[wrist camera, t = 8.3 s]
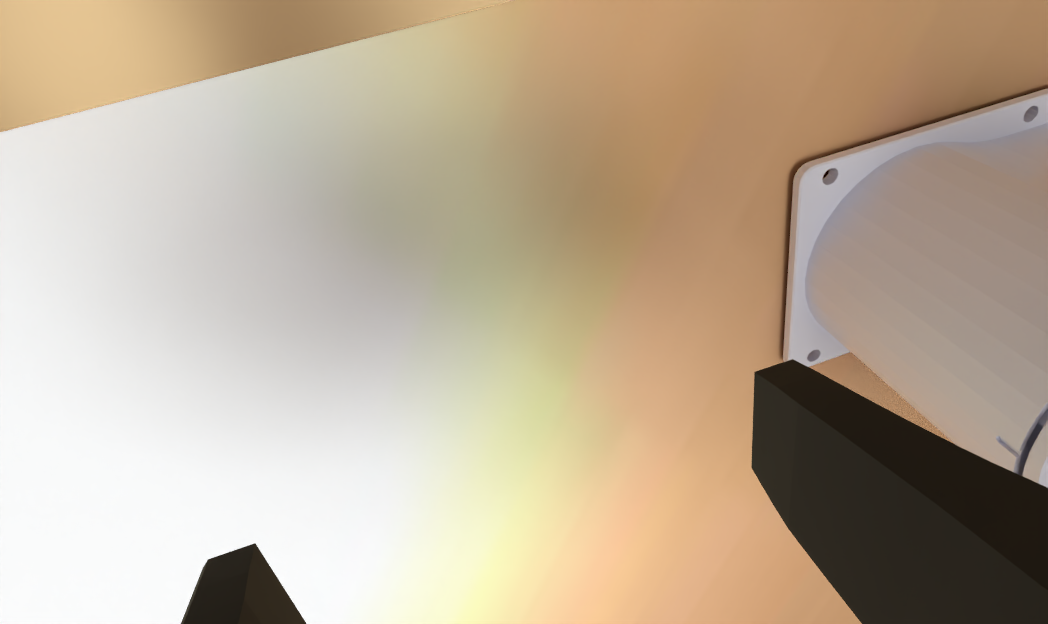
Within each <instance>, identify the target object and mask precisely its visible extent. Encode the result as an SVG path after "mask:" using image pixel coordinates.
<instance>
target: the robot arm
mask: <svg viewBox="0 0 1048 624" xmlns="http://www.w3.org/2000/svg"><path fill="white" fill-rule="evenodd" d="M829 169H830V171H829V174H828V175H827V176H826V177H825V178H823V175H824V174H825V172H826V171H827V170H829ZM822 178H823V179H822ZM849 352H851V353H853V354H854V355H855V356H856V357H857V358H858V359H859V360H861V361H862V362H863V363H864V364H865V365H866V366H867V367H868V368H870V369H871V370H872V371H873V372H874V373H875V374H876V375H877V376H879V377H880V378H881V379H882V380H883V381H884V382H885V383H887V384H888V385H889V386H890V387H891V388H892V389H893V390H894V391H896V392H897V393H898V394H899V395H900V396H901V397H902V398H904V399H905V400H906V401H907V402H908V403H909V404H910V405H911V406H913V407H914V408H915V409H916V410H917V411H918V412H919V413H920V414H922V415H923V416H924V417H925V418H926V419H927V420H928V421H930V422H931V423H932V424H933V425H934V426H935V427H936V428H937V429H939V430H940V431H941V432H942V433H943V434H944V435H945V436H946V437H948V438H949V439H950V440H951V441H952V442H953V443H954V444H953V443H951V442H949V441H947V440H945V439H943V438H941V437H939V436H937V435H935V434H933V433H931V432H929V431H927V430H925V429H923V428H921V427H919V426H917V425H915V424H914V423H912V422H910V421H908V420H906V419H904V418H902V417H900V416H898V415H896V414H894V413H893V412H891V411H889V410H887V409H885V408H883V407H881V406H879V405H878V404H876V403H874V402H872V401H870V400H868V399H866V398H865V397H863V396H861V395H859V394H857V393H855V392H853V391H852V390H850V389H848V388H846V387H844V386H842V385H841V384H839V383H837V382H835V381H833V380H831V379H829V378H828V377H826V376H824V375H822V374H820V373H818V372H816V371H815V370H813V369H811V368H809V366H812V365H815V364H818V363H821V362H824V361H826V360H829V359H832V358H835V357H838V356H841V355H844V354H846V353H849ZM783 361H784V362H783V363H780V364H777V365H774V366H771V367H768V368H765V369H762V370H759V371H757V372H755V379H754V410H753V440H752V469H753V471H754V473H755V474H756V476H757V478H758V479H759V481H760V483H761V485H762V486H763V488H764V490H765V491H766V493H767V495H768V496H769V498H770V500H771V502H772V503H773V505H774V506H775V508H776V510H777V511H778V513H779V514H780V516H781V518H782V519H783V521H784V522H785V524H786V526H787V527H788V529H789V530H790V531H791V533H792V534H793V535H794V537H795V538H796V539H797V541H798V542H799V543H800V545H801V546H802V547H803V548H804V550H805V551H806V552H807V554H808V555H809V556H810V558H811V559H812V560H813V561H814V563H815V564H816V565H817V567H818V568H819V569H820V571H821V572H822V573H823V574H824V576H825V577H826V578H827V580H828V581H829V582H830V583H831V585H832V586H833V587H834V588H835V590H836V591H837V592H838V594H839V595H840V596H841V597H842V599H843V600H844V601H845V602H846V604H847V605H848V606H849V608H850V609H851V610H852V611H853V613H854V614H855V615H856V617H857V618H858V619H859V620H860V622H861V623H862V624H1048V88H1047V89H1044V90H1040V91H1037V92H1034V93H1031V94H1027V95H1024V96H1021V97H1018V98H1014V99H1011V100H1008V101H1005V102H1001V103H998V104H995V105H992V106H988V107H985V108H982V109H978V110H975V111H972V112H969V113H965V114H962V115H959V116H956V117H952V118H949V119H946V120H943V121H939V122H936V123H933V124H930V125H926V126H923V127H920V128H917V129H913V130H910V131H907V132H904V133H900V134H897V135H894V136H890V137H887V138H884V139H881V140H877V141H874V142H871V143H868V144H864V145H861V146H858V147H855V148H851V149H848V150H845V151H842V152H838V153H835V154H832V155H829V156H825V157H822V158H819V159H815V160H812V161H809V162H807V163H805V164H803V165H802V166H801V167H800V168H799V169H798V171H797V172H796V174H795V176H794V180H793V195H792V212H791V229H790V246H789V263H788V281H787V298H786V315H785V332H784V349H783ZM955 444H956V445H955ZM181 624H306V622H305V621H304V619H303V618H302V616H301V614H300V613H299V611H298V610H297V608H296V607H295V605H294V603H293V602H292V600H291V599H290V597H289V596H288V594H287V593H286V591H285V589H284V588H283V586H282V585H281V583H280V582H279V580H278V578H277V577H276V575H275V574H274V572H273V571H272V569H271V567H270V566H269V564H268V563H267V561H266V560H265V558H264V556H263V555H262V553H261V552H260V550H259V549H258V547H257V545H256V544H252V545H249V546H246V547H243V548H240V549H237V550H235V551H232V552H229V553H226V554H223V555H220V556H217V557H214V558H211V559H208V561H207V562H206V564H205V566H204V567H203V570H202V572H201V575H200V577H199V580H198V582H197V585H196V587H195V590H194V592H193V595H192V597H191V600H190V602H189V605H188V607H187V610H186V612H185V615H184V617H183V620H182V622H181Z"/></svg>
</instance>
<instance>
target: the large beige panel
mask: <svg viewBox="0 0 1048 624" xmlns="http://www.w3.org/2000/svg"><path fill="white" fill-rule="evenodd" d="M510 1H514V0H0V132H3V131H7V130H10V129H14V128H18V127H22V126H26V125H30V124H34V123H38V122H42V121H46V120H50V119H53V118H57V117H61V116H65V115H69V114H73V113H77V112H81V111H85V110H89V109H92V108H96V107H100V106H104V105H108V104H112V103H116V102H120V101H124V100H128V99H131V98H135V97H139V96H143V95H147V94H151V93H155V92H159V91H163V90H167V89H171V88H174V87H178V86H182V85H186V84H190V83H194V82H198V81H202V80H206V79H210V78H213V77H217V76H221V75H225V74H229V73H233V72H237V71H241V70H245V69H249V68H252V67H256V66H260V65H264V64H268V63H272V62H276V61H280V60H284V59H288V58H292V57H295V56H299V55H303V54H307V53H311V52H315V51H319V50H323V49H327V48H331V47H334V46H338V45H342V44H346V43H350V42H354V41H358V40H362V39H366V38H370V37H373V36H377V35H381V34H385V33H389V32H393V31H397V30H401V29H405V28H409V27H413V26H416V25H420V24H424V23H428V22H432V21H436V20H440V19H444V18H448V17H452V16H455V15H459V14H463V13H467V12H471V11H475V10H479V9H483V8H487V7H491V6H494V5H498V4H502V3H506V2H510Z"/></svg>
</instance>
